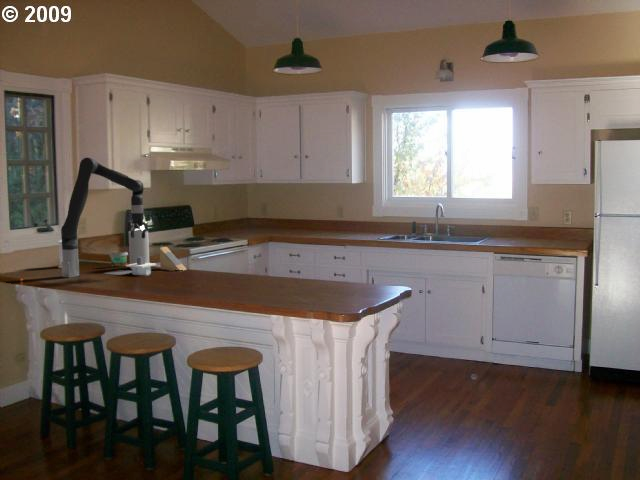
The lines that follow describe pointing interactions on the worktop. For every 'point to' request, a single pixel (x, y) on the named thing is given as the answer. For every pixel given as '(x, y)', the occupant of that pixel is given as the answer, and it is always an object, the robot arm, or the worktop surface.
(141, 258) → the lid
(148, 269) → the pale blue block
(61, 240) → the decorative container
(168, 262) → the sandwich container
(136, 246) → the cylinder vase
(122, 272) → the mat
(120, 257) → the food container
